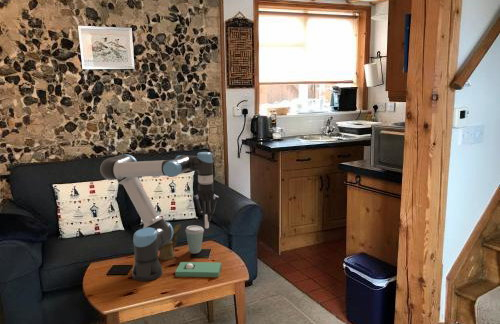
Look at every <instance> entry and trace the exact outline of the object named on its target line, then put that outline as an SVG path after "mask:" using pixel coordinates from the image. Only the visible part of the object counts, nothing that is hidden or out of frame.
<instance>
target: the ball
mask: <svg viewBox="0 0 500 324" xmlns="http://www.w3.org/2000/svg"><path fill="white" fill-rule="evenodd" d="M193 268H194V266H193V264H191V263H189V264H187V265H186V269H193Z"/></svg>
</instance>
